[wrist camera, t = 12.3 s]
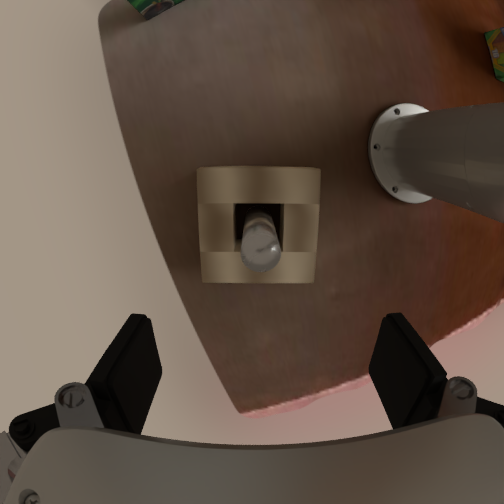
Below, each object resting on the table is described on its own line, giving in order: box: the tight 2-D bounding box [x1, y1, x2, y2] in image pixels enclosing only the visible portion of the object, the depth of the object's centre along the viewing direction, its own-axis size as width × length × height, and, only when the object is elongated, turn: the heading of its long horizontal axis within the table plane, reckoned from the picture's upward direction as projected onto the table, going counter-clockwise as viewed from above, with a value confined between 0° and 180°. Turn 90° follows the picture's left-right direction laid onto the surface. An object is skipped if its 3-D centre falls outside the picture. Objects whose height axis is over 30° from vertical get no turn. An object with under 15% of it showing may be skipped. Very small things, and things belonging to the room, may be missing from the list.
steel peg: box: [241, 205, 281, 272], centre depth 27 cm, size 3×3×12 cm
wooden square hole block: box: [197, 166, 321, 283], centre depth 30 cm, size 12×12×4 cm
